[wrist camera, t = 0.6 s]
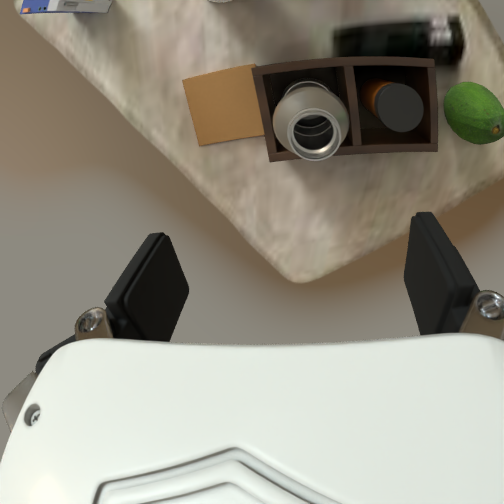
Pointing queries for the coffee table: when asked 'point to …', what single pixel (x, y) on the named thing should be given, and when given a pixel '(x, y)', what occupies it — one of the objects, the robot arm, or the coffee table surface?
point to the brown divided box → (357, 139)
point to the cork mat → (224, 105)
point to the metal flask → (310, 120)
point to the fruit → (474, 113)
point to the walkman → (65, 6)
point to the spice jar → (392, 104)
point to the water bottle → (220, 0)
